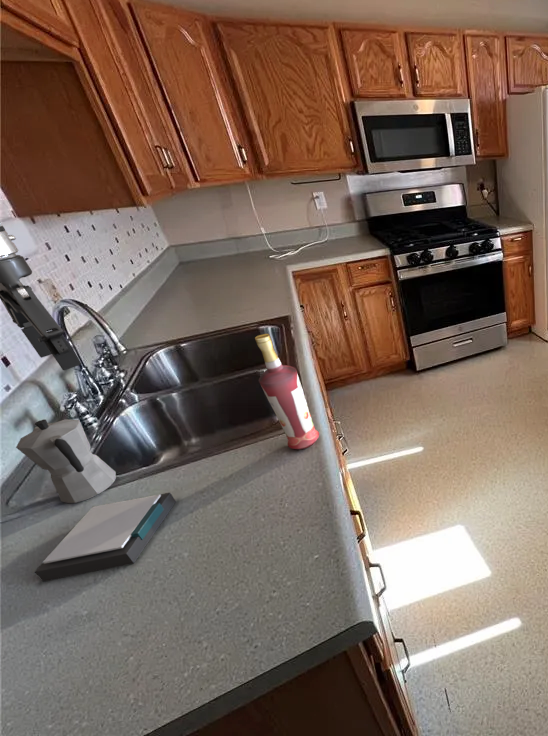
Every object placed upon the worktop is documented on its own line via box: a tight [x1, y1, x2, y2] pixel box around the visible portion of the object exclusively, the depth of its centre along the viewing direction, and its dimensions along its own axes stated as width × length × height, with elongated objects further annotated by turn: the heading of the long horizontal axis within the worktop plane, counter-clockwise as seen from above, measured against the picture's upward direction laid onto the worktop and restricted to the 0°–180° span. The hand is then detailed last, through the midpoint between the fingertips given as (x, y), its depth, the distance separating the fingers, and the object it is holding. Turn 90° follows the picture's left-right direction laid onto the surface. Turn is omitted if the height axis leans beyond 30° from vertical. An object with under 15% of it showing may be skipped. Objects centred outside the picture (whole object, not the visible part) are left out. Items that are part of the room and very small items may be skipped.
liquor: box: [254, 333, 320, 450], centre depth 91 cm, size 7×7×28 cm
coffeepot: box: [15, 418, 117, 504], centre depth 85 cm, size 15×9×18 cm, turn 59°
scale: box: [33, 492, 177, 582], centre depth 76 cm, size 14×14×3 cm
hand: (60, 360), depth 85 cm, fingers open, 13 cm apart
